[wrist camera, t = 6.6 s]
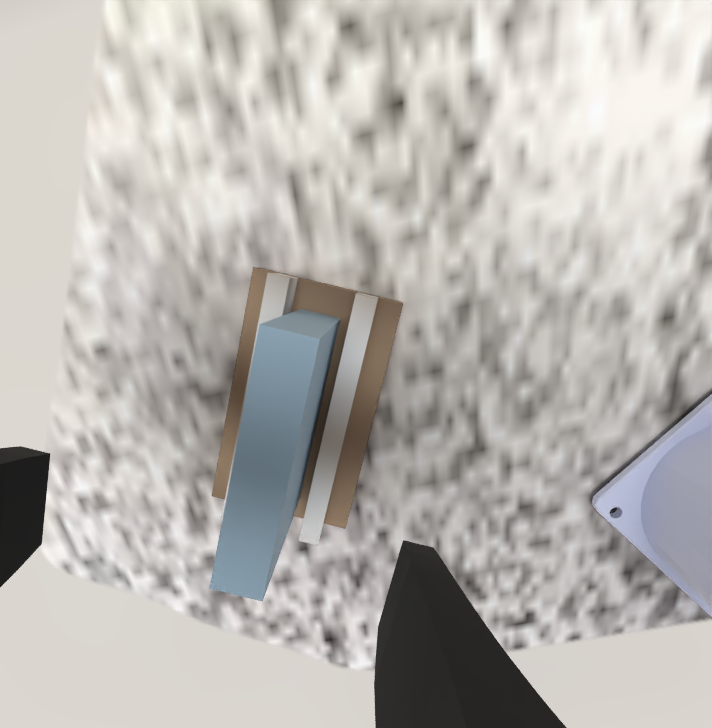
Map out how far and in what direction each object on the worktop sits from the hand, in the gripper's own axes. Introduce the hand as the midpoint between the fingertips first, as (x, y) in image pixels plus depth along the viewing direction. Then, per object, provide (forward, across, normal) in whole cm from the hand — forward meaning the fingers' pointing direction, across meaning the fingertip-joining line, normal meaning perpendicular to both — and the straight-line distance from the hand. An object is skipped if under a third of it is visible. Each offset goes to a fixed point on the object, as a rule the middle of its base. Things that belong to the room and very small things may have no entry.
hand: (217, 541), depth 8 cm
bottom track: (+10, 0, 0) cm, 10 cm away
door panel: (+9, 0, 0) cm, 9 cm away
